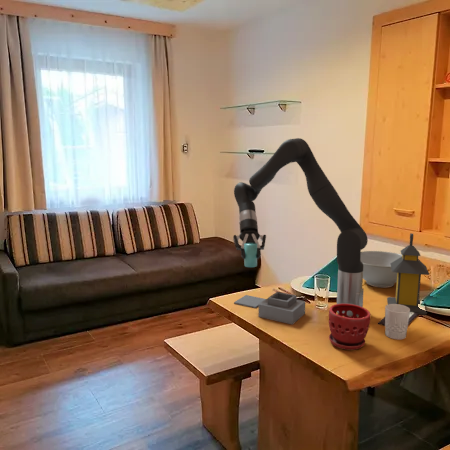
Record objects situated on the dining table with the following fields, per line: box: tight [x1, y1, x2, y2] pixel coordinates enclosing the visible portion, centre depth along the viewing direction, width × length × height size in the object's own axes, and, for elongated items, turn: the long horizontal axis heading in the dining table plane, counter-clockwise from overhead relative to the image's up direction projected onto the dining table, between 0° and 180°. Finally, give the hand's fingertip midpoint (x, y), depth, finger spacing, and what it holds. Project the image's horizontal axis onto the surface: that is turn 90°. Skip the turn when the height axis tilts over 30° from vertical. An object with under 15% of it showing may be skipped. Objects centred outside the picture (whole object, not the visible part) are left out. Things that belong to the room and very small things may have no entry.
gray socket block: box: [258, 291, 306, 325], centre depth 173 cm, size 14×12×8 cm
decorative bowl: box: [360, 250, 402, 289], centre depth 209 cm, size 27×27×12 cm
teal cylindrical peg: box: [243, 243, 258, 268], centre depth 184 cm, size 5×5×9 cm
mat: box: [233, 294, 267, 309], centre depth 188 cm, size 10×10×1 cm
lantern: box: [386, 233, 430, 316], centre depth 179 cm, size 14×14×30 cm
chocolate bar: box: [377, 312, 419, 327], centre depth 169 cm, size 9×1×18 cm
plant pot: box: [328, 303, 371, 351], centre depth 148 cm, size 13×13×12 cm
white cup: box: [384, 303, 410, 340], centre depth 155 cm, size 8×8×10 cm
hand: (251, 257), depth 182 cm, fingers closed on teal cylindrical peg, 5 cm apart
